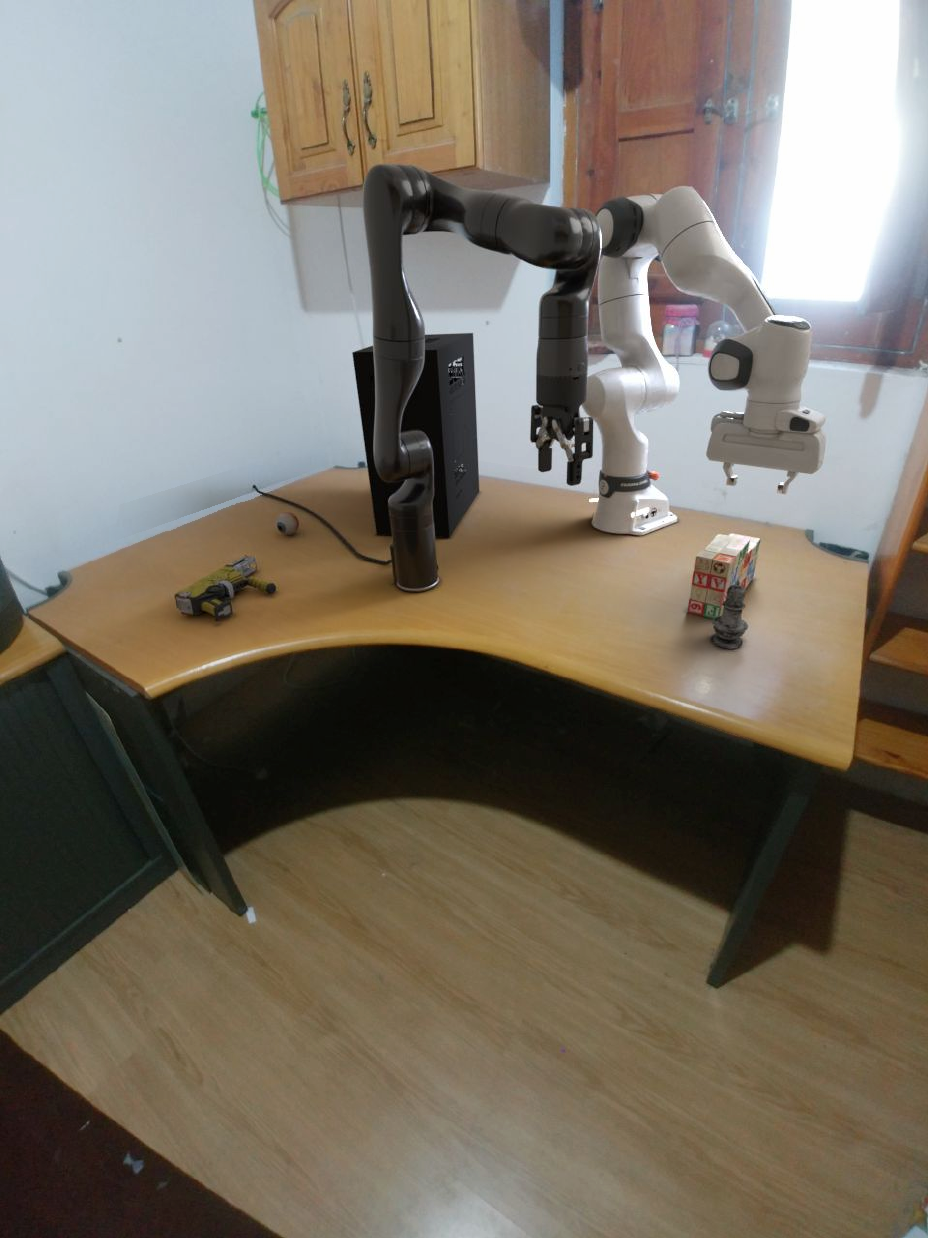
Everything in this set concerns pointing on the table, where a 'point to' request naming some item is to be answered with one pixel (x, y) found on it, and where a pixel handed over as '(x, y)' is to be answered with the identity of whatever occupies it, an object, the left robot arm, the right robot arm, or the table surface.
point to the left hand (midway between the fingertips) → (558, 477)
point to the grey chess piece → (731, 619)
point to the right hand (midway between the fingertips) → (755, 488)
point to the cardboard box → (431, 428)
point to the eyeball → (287, 523)
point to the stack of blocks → (721, 572)
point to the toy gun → (220, 589)
